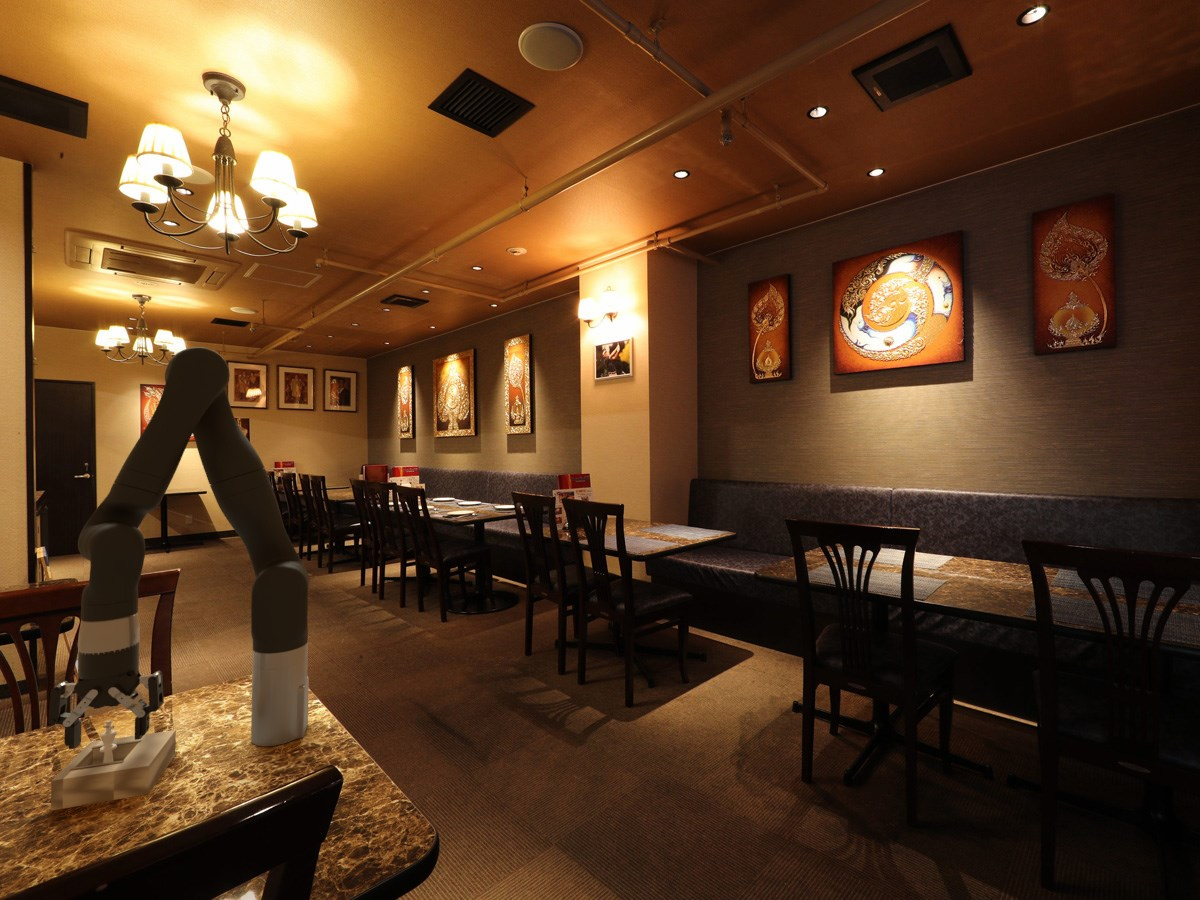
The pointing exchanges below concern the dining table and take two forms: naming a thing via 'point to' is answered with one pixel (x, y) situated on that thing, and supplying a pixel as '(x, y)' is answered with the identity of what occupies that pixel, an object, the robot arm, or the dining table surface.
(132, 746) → the socket block
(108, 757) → the chess piece
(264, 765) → the dining table surface
